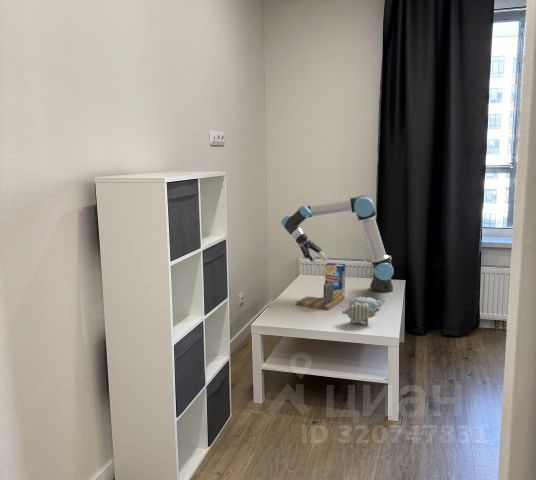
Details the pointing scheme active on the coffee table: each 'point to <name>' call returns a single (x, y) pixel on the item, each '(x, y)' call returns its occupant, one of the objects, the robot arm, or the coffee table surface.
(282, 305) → the coffee table surface
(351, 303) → the figurine
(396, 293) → the coffee table surface
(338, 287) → the beverage box
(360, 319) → the toy sheep
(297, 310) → the coffee table surface
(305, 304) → the wooden stand
